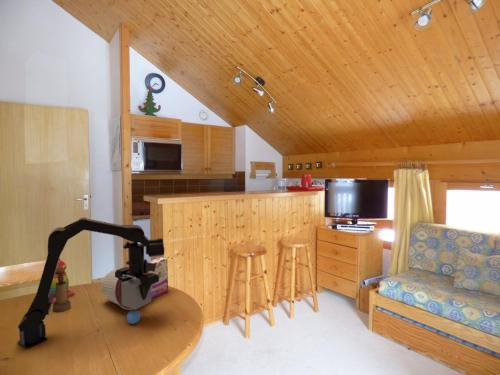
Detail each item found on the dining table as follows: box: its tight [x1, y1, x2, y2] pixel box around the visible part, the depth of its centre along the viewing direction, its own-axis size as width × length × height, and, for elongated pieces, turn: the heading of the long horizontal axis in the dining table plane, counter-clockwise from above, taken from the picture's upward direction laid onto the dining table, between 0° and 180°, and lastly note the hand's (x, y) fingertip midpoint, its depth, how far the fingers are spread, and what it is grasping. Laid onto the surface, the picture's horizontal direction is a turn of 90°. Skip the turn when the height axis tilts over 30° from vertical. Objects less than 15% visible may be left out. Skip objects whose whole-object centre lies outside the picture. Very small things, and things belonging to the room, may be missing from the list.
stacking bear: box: [50, 258, 75, 304], centre depth 139 cm, size 11×10×18 cm
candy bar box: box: [147, 256, 169, 300], centre depth 144 cm, size 11×5×16 cm, turn 148°
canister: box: [101, 268, 152, 311], centre depth 134 cm, size 18×18×21 cm
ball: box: [126, 309, 142, 325], centre depth 118 cm, size 5×5×5 cm
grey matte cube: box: [121, 278, 152, 310], centre depth 119 cm, size 8×8×9 cm
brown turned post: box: [52, 267, 72, 313], centre depth 129 cm, size 7×6×18 cm
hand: (137, 297), depth 119 cm, fingers closed on grey matte cube, 8 cm apart
